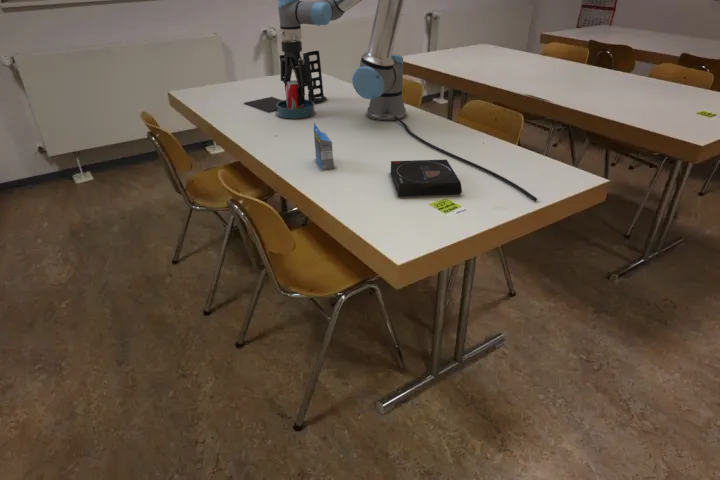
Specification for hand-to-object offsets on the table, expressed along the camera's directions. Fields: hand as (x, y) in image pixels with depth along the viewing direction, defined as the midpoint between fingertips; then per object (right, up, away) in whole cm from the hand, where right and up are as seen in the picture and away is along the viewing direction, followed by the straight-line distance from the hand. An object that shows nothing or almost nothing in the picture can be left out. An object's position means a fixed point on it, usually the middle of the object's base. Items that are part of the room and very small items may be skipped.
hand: (295, 102), depth 201 cm
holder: (+6, +6, +19) cm, 21 cm away
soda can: (0, -4, +2) cm, 4 cm away
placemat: (-12, +3, +14) cm, 19 cm away
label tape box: (+14, -31, -44) cm, 56 cm away
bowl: (0, -4, +2) cm, 5 cm away
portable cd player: (+44, -39, -57) cm, 81 cm away
